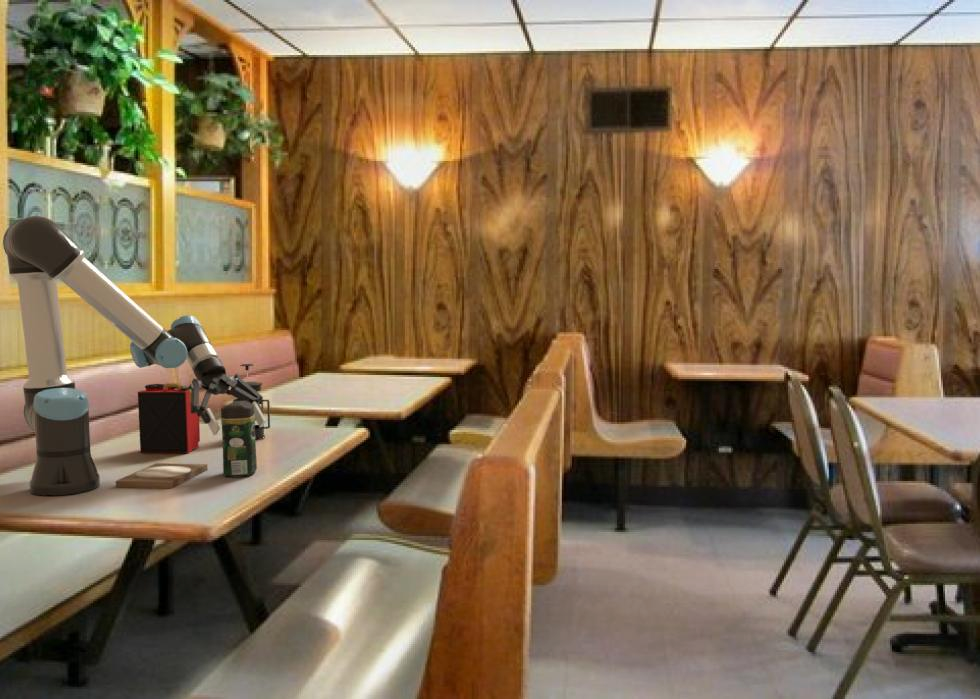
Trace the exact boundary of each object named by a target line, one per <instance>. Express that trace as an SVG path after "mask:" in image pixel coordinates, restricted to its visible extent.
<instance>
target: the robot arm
mask: <svg viewBox="0 0 980 699" xmlns="http://www.w3.org/2000/svg"><path fill="white" fill-rule="evenodd" d="M2 247H3V250H4V253H5V254H6V257H7V265H8V271H9V273H8V274H9V276H10V277H11V278H12V279H14V280H15V281H16V282H17V287H18V288H17V290H18V296H19V297H18V299H19V305H20V314H21V322H22V330H23V339H24V340H23V341H24V346H25V355H26V364H27V365H26V366H27V372H28V380H27V381H26V382H25V383H24V385H22V388H23V397H24V405H23V412H22V413H23V418H24V421H25V422H26V424H27V426H28V427H29V428H30V429H31V430H32V431H33V432H35V450H36V461H35V464H34V468H33V471H32V474H31V479H30V481H29V489H30V490H29V493H31V494H32V493H33V494H32V495H36V494H37V495H36V496H46V495H53V496H66V495H73V494H74V495H75V494H80V493H84V492H89V491H92V490H95V489H96V488H98V487H100V485H101V480H100V479H101V478H100V474H99V472H98V469H97V467H96V463H95V461H94V459H93V457H92V453H91V435H90V434H91V433H90V417H89V416H90V413H89V412H90V411H89V410H90V403H89V400H88V399H89V398H88V394H87V393H86V392H85V391H83V390H81V389H78V388H76V381H75V379H74V378H72V377H71V376H70V375H68V371H67V370H68V369H67V363H66V354H65V345H64V344H65V343H64V336H63V328H62V327H63V326H62V318H61V311H60V310H61V309H60V300H59V294H58V282H57V280H60V281H61V282H63V284H65V285H66V286H67V287H68V288H69V289H70V290H72V291H73V292H75V294H77V296H79V297H80V298H81V299H82V300H83V301H85V302H86V303H87V304H88V305H89V306H91V307H92V308H93V309H94V310H95V311H96V312H97V313H98V314H100V315H101V316H102V317H103V318H105V319H106V320H107V321H108V322H109V323H110V324H111V325H113V327H115V328H116V329H117V330H118V331H119V332H121V333H122V334H123V335H124V336H125V337H127V339H129V340H130V341H131V342H130V343H129V351H130V354H131V357H132V360H133V362H134V364H135V366H136V367H138V368H146V367H151V366H152V365H157V366H159V367H162V368H165V369H175V368H178V367H180V366H182V365H183V364H184V363H185V362H186V360H187V363H188V365H189V366H190V369H191V370H192V371H193V375H195V377H196V378H193V379H192V381H191V382H190V384H189V386H190V388H191V391H192V394H191V410H190V412H191V413H192V414H194V413H197V416H199V418H200V417H201V419H202V421H203V422H204V423H205V424H206V425H207V426H208V427H209V429H210V431H211V433H212V435H213V436H216V435H217V434H218V432H219V431H220V430H221V427H220V425H219V423H218V421H217V420H216V418H215V416H214V414H213V412H212V409H211V407H208V404H209V401H210V399H211V396H212V395H214V396H217V395H218V396H219V395H225V394H226V395H228V396H232V397H234V398H235V399H239V400H241V401H249V402H250V403H252V404H253V405H254V412H255V413H254V414H255V420H256V421H255V422H256V423H257V425H259V427H263V425H264V426H265V424H266V423H267V419H266V417H265V416H263V415H264V409H263V410H262V408H261V404H260V405H259V403H260V402H261V400H262V398H263V399H264V396H263V395H262V394H260V393H259V391H255V390H254V389H253V388H252V387H251V386H249V385H248V384H247V383H246V382H247V381H245V380H243V378H241V375H239V374H238V373H235V374H234V375H233V376H229V375H228V374H227V372H226V368H225V366H224V363H223V362H222V360H221V359H220V356H219V355H218V352H217V351H216V350H215V348H214V345H212V342H211V341H210V339H209V337H208V336H207V333H206V331H205V330H204V327H203V325H202V324H201V322H200V321H199V320H198V319H197V317H196V316H194V315H189V314H188V315H181V316H180V317H179V318H178V319H177V318H176V319H175V320H174V321H172V323H171V325H170V329H168V330H166V329H165V328H164V327H163V326H162V325H161V324H160V323H159V322H157V320H155V318H153V317H152V316H151V315H149V313H147V311H146V310H144V309H143V308H142V307H141V306H140V305H139V304H137V302H135V301H134V300H133V299H132V298H131V297H130V296H128V295H127V294H126V293H125V292H124V291H123V290H122V289H120V287H119V286H117V285H116V284H115V283H114V282H113V281H112V280H110V279H109V278H108V277H107V276H106V275H105V274H104V273H103V272H102V271H101V270H100V269H98V268H97V267H96V266H95V265H94V264H93V263H92V262H91V261H90V260H88V259H87V258H86V257H85V253H84V252H85V251H84V249H83V248H82V247H81V246H80V245H78V244H77V243H76V242H75V241H74V240H73V239H72V238H71V236H70V235H68V234H67V233H66V232H65V231H64V229H62V228H61V226H60V225H58V223H56V222H54V221H53V220H52V219H50V218H47V217H44V216H42V215H41V216H37V215H32V216H31V215H30V216H27V217H25V218H20V219H18V220H16V221H14V222H13V223H11V224H10V225H9V226H8V227H7V228H6V231H5V232H4V235H3V239H2ZM200 388H202V389H203V390H205V394H204V396H203V398H202V401H201V404H199V402H200ZM251 400H252V401H251ZM207 407H208V408H207ZM262 412H263V414H262Z"/></svg>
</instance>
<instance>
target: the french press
mask: <svg viewBox="0 0 980 699" xmlns="http://www.w3.org/2000/svg"><path fill="white" fill-rule="evenodd" d="M239 366H240V367H245V372H246V381H245V382H246V383H247V384H248V385H249V386H251V387H252V388H253V389H254V390H255V391H257V392H261V391H262V386H263V382H257V381H249V370H250V369H249V368H250V367H253V366H255V364H253V363H241V364H239ZM233 401H241V400H239V399H237V398H233V400H232V402H233ZM251 401H252V400H251ZM264 402H266V403H267V404H266V405H267V426H265V424H264V425H263V427H259V425H258V424H255V439H258V440H260V439H259V438H262V439H264V438H265V437H266V434H265V430H266V429H271V411H270V410H271V408H270V404H271V403H270V399H264V397H263V398H262V400H261V402H260V403H259V405H260V406H261V408H262V410H263V412H262V414H263V416H264ZM264 417H265V416H264ZM255 422H257V421H256V420H255ZM263 437H264V438H263Z"/></svg>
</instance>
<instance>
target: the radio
mask: <svg viewBox="0 0 980 699" xmlns="http://www.w3.org/2000/svg"><path fill="white" fill-rule="evenodd" d="M144 388H145V390H139V391H137V403H138V425H139V426H138V430H139V447H140V453H141V454H142V453H143V454H144V453H147V454H149V453H150V454H151V453H152V454H153V453H154V454H155V453H156V454H158V453H159V454H190V453H191V452H192V451H193V450H194V449H198V448H199V443H200V441H201V436H200V435H201V431H200V430H201V429H200V417H199V416H197V413H194V414H192V413H191V412H190V410H191V394H192V391H191V388H190V385H181V384H180V383H178V382H167V383H165V384H163V383H153V384H152V383H151V384H146V385H144Z"/></svg>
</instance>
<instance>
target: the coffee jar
mask: <svg viewBox="0 0 980 699" xmlns="http://www.w3.org/2000/svg"><path fill="white" fill-rule="evenodd" d="M254 413H255V412H254V405H253V404H252V403H250V402H249V401H233V400H232V402H230V403H228V404H226V405H224V406H223V407H221V409H220V421H221V435H222V436H221V437H222V467H223V468H222V469H223V471H222V472H223V475H224V476H225V477H230V478H231V477H232V478H241V477H245V476H248V477H249V476H251V475H254V474H255V472H257V471H256V470H257V469H258V465H257V447H256V446H257V445H256V443H257V442H256V441H257V440H255V425H256V421H255V414H254Z"/></svg>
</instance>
